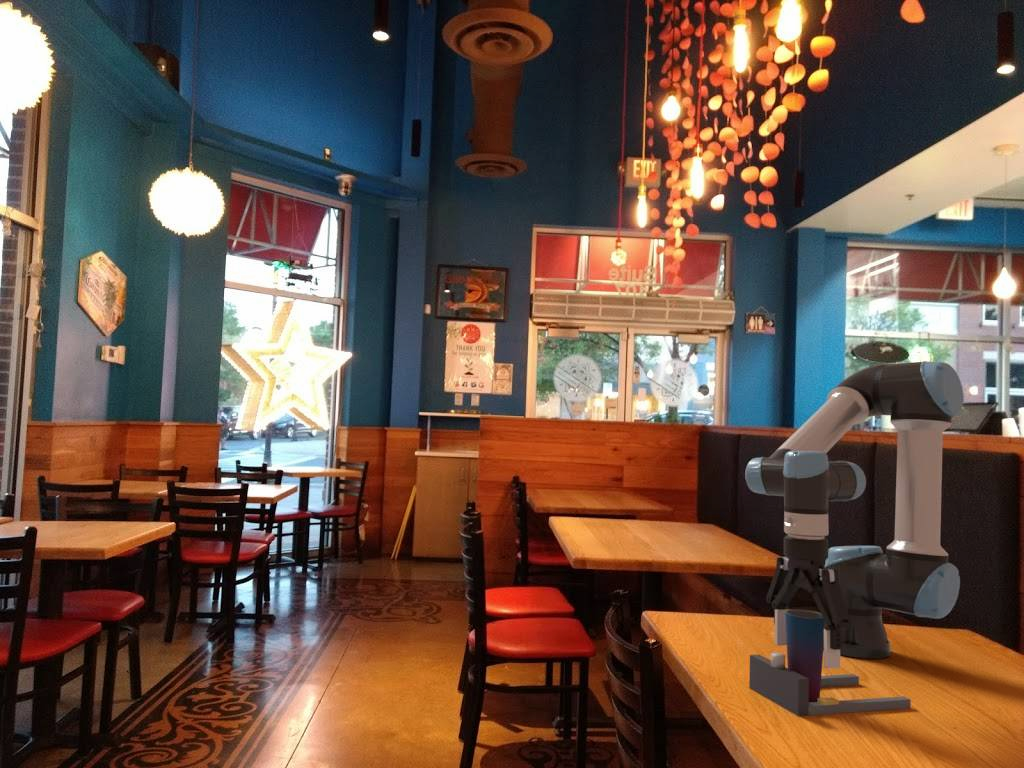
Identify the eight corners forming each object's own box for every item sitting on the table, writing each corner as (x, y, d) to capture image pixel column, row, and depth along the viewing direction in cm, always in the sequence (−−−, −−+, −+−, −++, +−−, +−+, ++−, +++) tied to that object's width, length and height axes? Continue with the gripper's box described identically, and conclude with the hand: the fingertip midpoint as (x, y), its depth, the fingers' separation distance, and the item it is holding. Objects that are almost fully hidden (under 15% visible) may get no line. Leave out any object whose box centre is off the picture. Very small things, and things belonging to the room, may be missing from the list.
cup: (828, 708, 127) (829, 619, 128) (787, 703, 129) (788, 616, 130) (820, 695, 134) (821, 611, 135) (781, 691, 135) (782, 607, 137)
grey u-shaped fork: (853, 681, 143) (853, 639, 143) (910, 708, 129) (910, 661, 130) (748, 688, 136) (748, 643, 137) (797, 716, 123) (797, 667, 123)
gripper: (747, 527, 145) (747, 637, 143) (836, 547, 121) (836, 680, 119) (780, 526, 147) (780, 635, 145) (874, 546, 123) (875, 676, 121)
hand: (805, 655), depth 132 cm, fingers open, 13 cm apart
